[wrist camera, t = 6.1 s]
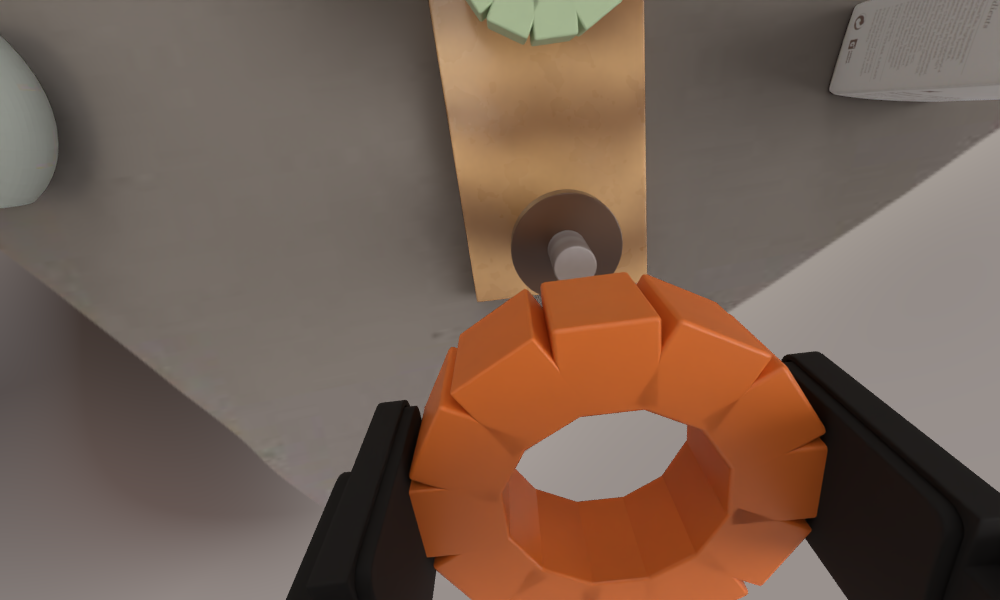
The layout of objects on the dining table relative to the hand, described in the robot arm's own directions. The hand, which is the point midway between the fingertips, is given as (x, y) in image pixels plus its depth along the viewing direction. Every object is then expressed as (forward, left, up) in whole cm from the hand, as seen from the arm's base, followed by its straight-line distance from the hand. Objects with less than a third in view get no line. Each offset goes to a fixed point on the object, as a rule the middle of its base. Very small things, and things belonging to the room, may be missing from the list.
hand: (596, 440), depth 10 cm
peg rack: (-5, -3, -19) cm, 20 cm away
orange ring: (0, 0, 0) cm, 0 cm away
